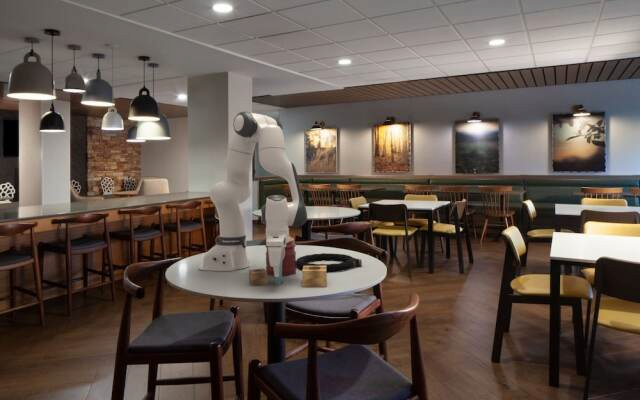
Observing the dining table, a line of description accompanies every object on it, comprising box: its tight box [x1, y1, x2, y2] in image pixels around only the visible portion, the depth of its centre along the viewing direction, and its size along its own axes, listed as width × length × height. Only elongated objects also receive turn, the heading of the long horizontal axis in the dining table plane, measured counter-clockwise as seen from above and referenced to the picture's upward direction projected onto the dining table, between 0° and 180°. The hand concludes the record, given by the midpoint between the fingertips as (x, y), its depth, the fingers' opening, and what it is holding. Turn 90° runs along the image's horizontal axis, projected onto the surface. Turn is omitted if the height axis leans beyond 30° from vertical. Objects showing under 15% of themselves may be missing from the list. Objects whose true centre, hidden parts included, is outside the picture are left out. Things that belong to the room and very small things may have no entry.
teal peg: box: [274, 263, 283, 286], centre depth 177 cm, size 3×3×11 cm
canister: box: [264, 235, 297, 276], centre depth 195 cm, size 13×13×18 cm
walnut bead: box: [248, 268, 268, 287], centre depth 178 cm, size 6×6×5 cm
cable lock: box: [296, 253, 362, 273], centre depth 207 cm, size 28×4×30 cm
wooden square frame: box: [301, 265, 328, 288], centre depth 177 cm, size 9×9×6 cm
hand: (278, 273), depth 177 cm, fingers open, 8 cm apart
